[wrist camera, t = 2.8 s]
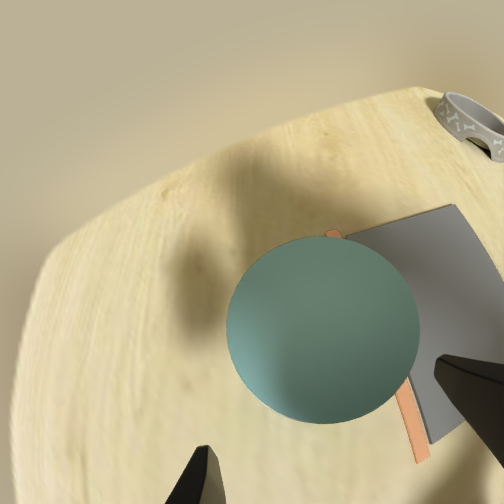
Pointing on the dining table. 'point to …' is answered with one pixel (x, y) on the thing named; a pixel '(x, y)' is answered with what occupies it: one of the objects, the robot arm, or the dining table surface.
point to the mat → (444, 300)
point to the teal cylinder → (323, 330)
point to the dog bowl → (471, 123)
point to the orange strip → (406, 408)
